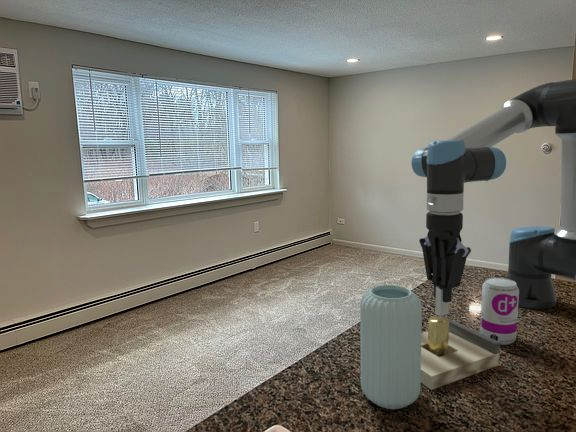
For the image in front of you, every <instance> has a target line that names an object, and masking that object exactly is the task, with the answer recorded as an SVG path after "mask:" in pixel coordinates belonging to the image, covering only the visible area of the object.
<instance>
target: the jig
mask: <svg viewBox="0 0 576 432" xmlns="http://www.w3.org/2000/svg"><path fill="white" fill-rule="evenodd" d="M444 318H447V319H448V320H449V339H448V354H447V355H444V356H441V357H438V356H436V355H434V354H433V353H431V352H429V351H428V330H427V331H423V332H421V378H420V384H422V385H424V386H425V387H426V388H427V389H429V390H430V391H431V390H436V389H437V388H440V387H443V386H445V385H449V384H452V383H453V382H454V383H455V382H456V381H459V380H463V379H465V378H467V377H470V376H474V375H476V374H479V373H481V372H482V373H483V372H484V371H487V370H489V369H493V368H495V367H498V366H499V365H500V354H501V353H500V351H501V350H500V349H501V345H500V342H498V341H496V340H494V339H492V338H490V337H487V336H485V335H483V334H481V333H480V331H476V330H474V329H472V328H470V327H468V326H466V325H463V324H461V323H460V322H457V321H455V320H453V319H450V318H449V317H446V316H444Z"/></svg>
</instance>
